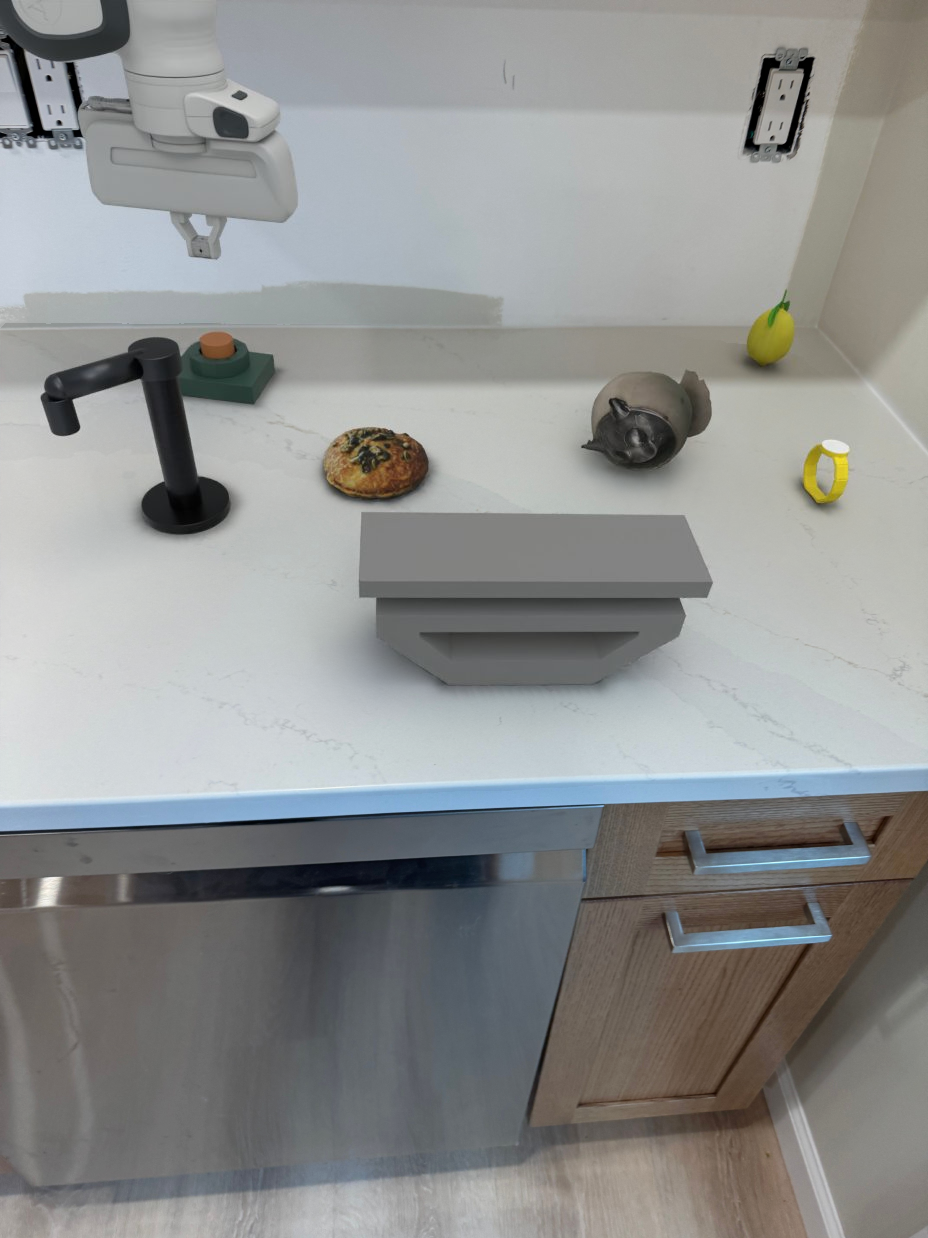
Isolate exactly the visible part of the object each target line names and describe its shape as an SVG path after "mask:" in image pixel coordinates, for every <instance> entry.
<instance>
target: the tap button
mask: <svg viewBox="0 0 928 1238" xmlns="http://www.w3.org/2000/svg"><path fill="white" fill-rule="evenodd" d="M233 338H234V336H233V335H231V334H230V333H228V332H225V331H210V332H206V333H204V334H203V335H201V336H200V338H199V341H200V344H201V350H202V355H203V356H204V357H206V358H212V359H220V358H227V357H230V356H232V355H234V354H235V350H234V343H233Z"/></svg>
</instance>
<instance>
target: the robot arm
mask: <svg viewBox="0 0 928 1238" xmlns="http://www.w3.org/2000/svg"><path fill="white" fill-rule="evenodd" d="M217 14H218V6H217V0H0V27H1V28H2V29H3V31H4V32H5V33H6V34H7V35H8V36H9V37H10V39H12V41H14V42H15V43H16V44H17V45H18V46H19V47H21V48H22V49H23V50H25V51H26V52H28V53H30V54H31V55H33V56H35V57H37V58H40V59H42V60H45V61H48V62H49V61H50V62H58V63H73V62H80V61H83V60H85V59H90V58H96V57H101V56H104V55H107V54H114V55H117V56H118V57H119V58H120V60H121V64H122V69H123V74H124V80H125V83H126V85H125V86H126V89H127V95H128V98H124V97H123V98H122V97H113V98H112V97H111V98H109V97H104V96H100V95H92V96H88V98H87V100H85V101H83V102H82V103H81V104H80V105H79V108H78V111H77V121H78V124H79V129H80V132H81V136H82V138H83V139H84V142H85V143H84V145H85V157H86V165H87V172H88V177H89V184H90V189H91V192H92V194H93V195H94V197H95V198H96V199H97V200H98V201H99V202H100V203H101V204H102V205H104V206H113V207H123V208H124V207H125V208H131V209H132V208H133V209H143V210H153V211H161V212H169V216H170V221H171V224H172V225H173V227H174V228H175V230H176V231H177V232H178V233H179V235H180V236H181V237H182V239H183V240H184V241H185V245H186V249H187V255H188V257H190V258H197V259H198V258H199V259H207V260H216V261H217V260H218V259H219V258H220V257H221V256H222V248H221V240H220V238H221V236H222V234H223V232H224V229H225V227H226V225H227V222H228V218H229V219H239V220H247V221H257V222H258V221H259V222H269V223H276V224H283V223H286V222H287V221H288V220H289V219H290V218H291V217H292V216H293V215H294V213H295V212H296V210H297V208H298V204H299V195H298V185H297V178H296V172H295V167H294V162H293V158H292V157H293V156H292V153H291V150H290V146H289V143H288V142H287V139H286V138H285V137H284V136H283V135H282V133H280V131H278V130H277V127H278V126H279V124H280V123H281V108H280V105H279V103H278V102H277V101H275V100H274V99H272V98H270V97H268V96H266V95H263V94H261V93H259V92H258V91H255V90H252V89H250V88H248V87H246V86H244V85H242V84H240V83H238V82H235V81H233V80H232V79H230V78H228V77H226V76H227V75H226V69H225V68H226V67H225V63H224V58H223V55H222V53H221V51H220V47H219V43H218V39H217V33H216V24H217V23H216V22H217ZM193 215H199V216H204V217H205V222H206V226H208V227H211V230H210V233H209V235H201V234H198V232H197V230H196V229H195V227H194V226H193V224H192V222H191V221H190V218H191V217H192V216H193Z"/></svg>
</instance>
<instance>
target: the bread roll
mask: <svg viewBox="0 0 928 1238" xmlns="http://www.w3.org/2000/svg"><path fill="white" fill-rule="evenodd" d="M429 461H430V460H429V457H428V454H427V453H426V449H425V448H424V447H423V444H421V442H419V441H417V440H416V439H415V438H413V437H411V436H410V435H409V434H408V433H406V432H403V433H396V432H395V431H394V430H392V429H388V428H385V427H374V426H367V427H366V426H365V427H358V428H352V429H348V430H347V431H346V430H345V431H344V432H343V433H341V434H339V436H337V437H335V438H334V439H333V440H332V442H331V443H330V444H329V446H328V447H327V449H326V451H325V454H324V458H323V461H322V463H323V469H324V472H325V473H326V480H327V481H328V483H329V484H330V485H332V486H333V487H335V488H337V489H338V490H339V491H341V492H342V493H343V494H344V495H346V496H348V497H353V498H358V499H362V500H364V499H367V500H368V499H375V498H377V499H386V498H389V499H391V498H395V497H398V496H401V495H403V494H407V493H409V492H411V491H412V490H414V489H415V488H416V487H418V486H419V485H420V484H421V483H422V481H423V480H424V479H425V477H426V475H427V474H428V471H429V465H430V463H429Z"/></svg>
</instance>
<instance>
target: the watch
mask: <svg viewBox="0 0 928 1238" xmlns="http://www.w3.org/2000/svg"><path fill="white" fill-rule="evenodd" d="M850 451H851V449H850V446H849V445H848V444H847V443H845V442H843V441H841V440H838V439H824V440H822V442H821V443H820V444H819V443H818V444H816V445H814V446H813V448H811V449H810V451H808V453H807V455H806V458H805V460H804V464H803V469H802V481H803V487H804V489H805V490H806V492H807V493H808V494H809V495H810V496H811V497H812V499H814V501H815V503H817V504H830V503H834V502H836V501H838V500H839V498H840V497H841V496H842V495H843V494H844V492H845V490H846V487H847V484H848V481H849V468H850V467H849V462H848V459H847V457H848V456H849V455H850ZM822 455H824V456H826V457H828V458H830V459H832V461H833V465H834V474H833V477H834V478H833V482H832V485H831V489H830V491H829V492H828V493H827V495H825V493H824V492H823V491H822V490H821V489H820V488H819V486H818V480H817V469H818V463H819V461H820V458H821V457H822Z"/></svg>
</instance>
